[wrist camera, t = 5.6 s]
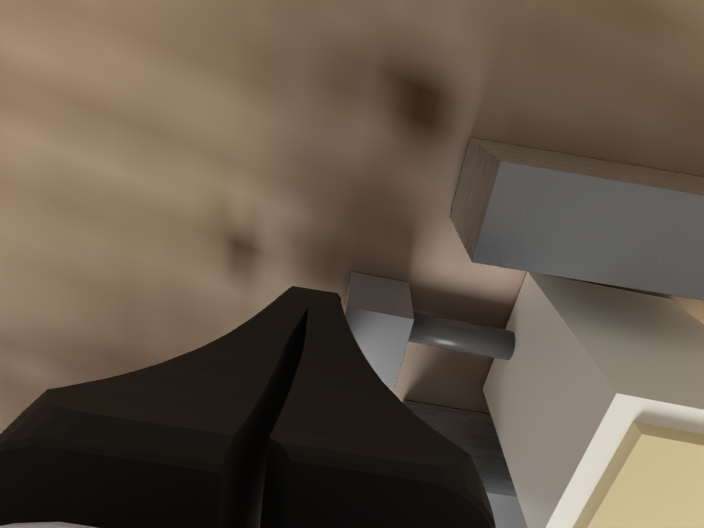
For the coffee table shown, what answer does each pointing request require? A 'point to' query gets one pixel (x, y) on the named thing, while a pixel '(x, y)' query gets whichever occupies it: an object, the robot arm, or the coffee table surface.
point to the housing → (566, 252)
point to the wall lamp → (572, 395)
